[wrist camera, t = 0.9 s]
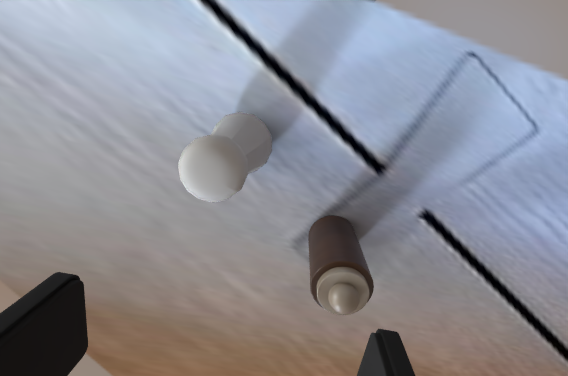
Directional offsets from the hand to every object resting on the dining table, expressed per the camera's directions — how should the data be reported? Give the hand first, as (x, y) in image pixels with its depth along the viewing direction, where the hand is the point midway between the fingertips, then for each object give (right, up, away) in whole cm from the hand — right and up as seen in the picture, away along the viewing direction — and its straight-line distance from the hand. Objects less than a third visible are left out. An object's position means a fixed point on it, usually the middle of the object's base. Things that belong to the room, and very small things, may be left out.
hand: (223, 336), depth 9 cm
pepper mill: (+7, -1, +23) cm, 25 cm away
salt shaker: (-2, +10, +21) cm, 23 cm away
